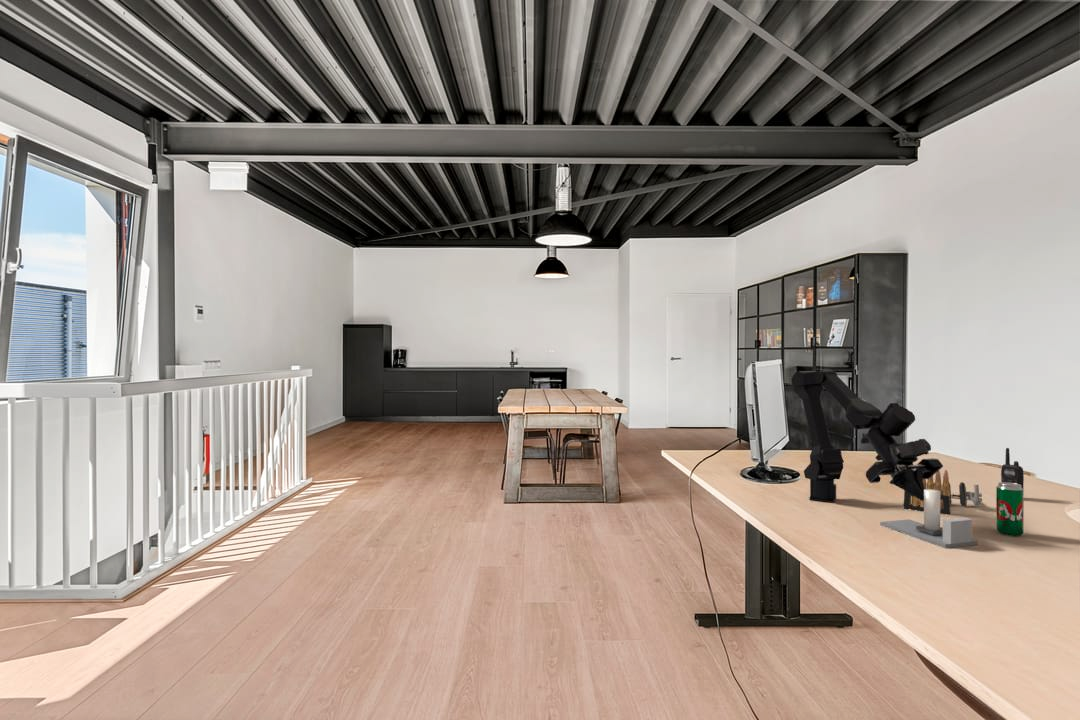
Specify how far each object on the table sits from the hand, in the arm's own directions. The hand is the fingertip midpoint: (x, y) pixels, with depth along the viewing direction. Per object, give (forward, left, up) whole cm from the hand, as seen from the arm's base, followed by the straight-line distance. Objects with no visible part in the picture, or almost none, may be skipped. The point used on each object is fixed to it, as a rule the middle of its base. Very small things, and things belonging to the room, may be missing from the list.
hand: (925, 499), depth 137 cm
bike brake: (+8, +41, -9) cm, 43 cm away
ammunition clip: (+1, +25, -8) cm, 26 cm away
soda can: (+17, +11, -8) cm, 22 cm away
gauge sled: (+2, 0, -7) cm, 8 cm away
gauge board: (0, 0, -8) cm, 8 cm away
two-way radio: (+24, +55, -8) cm, 60 cm away
